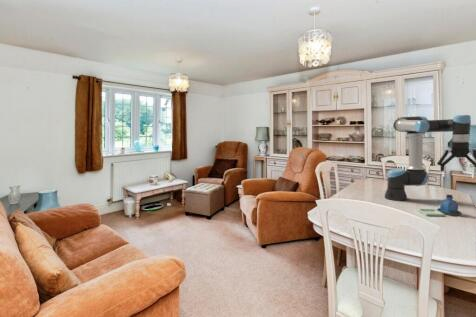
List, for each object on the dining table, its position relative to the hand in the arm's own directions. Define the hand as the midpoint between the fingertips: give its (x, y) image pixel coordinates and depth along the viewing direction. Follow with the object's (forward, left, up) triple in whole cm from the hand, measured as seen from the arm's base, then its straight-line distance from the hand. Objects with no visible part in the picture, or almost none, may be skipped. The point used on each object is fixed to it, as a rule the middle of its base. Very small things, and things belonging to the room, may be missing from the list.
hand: (458, 177), depth 146 cm
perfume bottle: (-12, +3, -26) cm, 29 cm away
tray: (-10, -8, -26) cm, 29 cm away
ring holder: (-12, +3, -26) cm, 28 cm away
